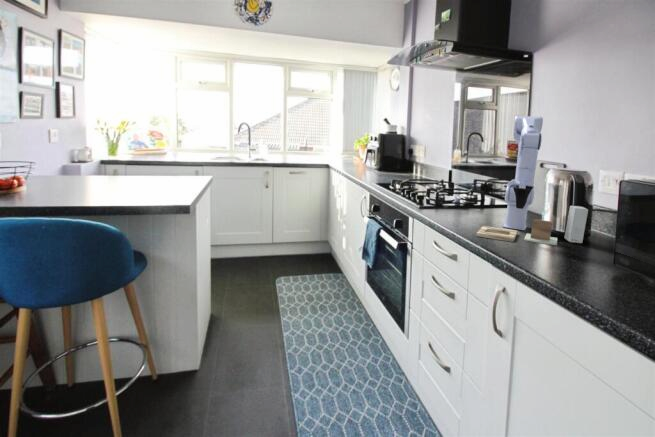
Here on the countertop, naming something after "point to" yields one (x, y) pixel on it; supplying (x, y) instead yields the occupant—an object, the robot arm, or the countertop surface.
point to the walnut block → (541, 229)
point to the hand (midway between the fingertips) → (520, 207)
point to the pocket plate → (486, 232)
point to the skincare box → (576, 224)
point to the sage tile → (552, 240)
